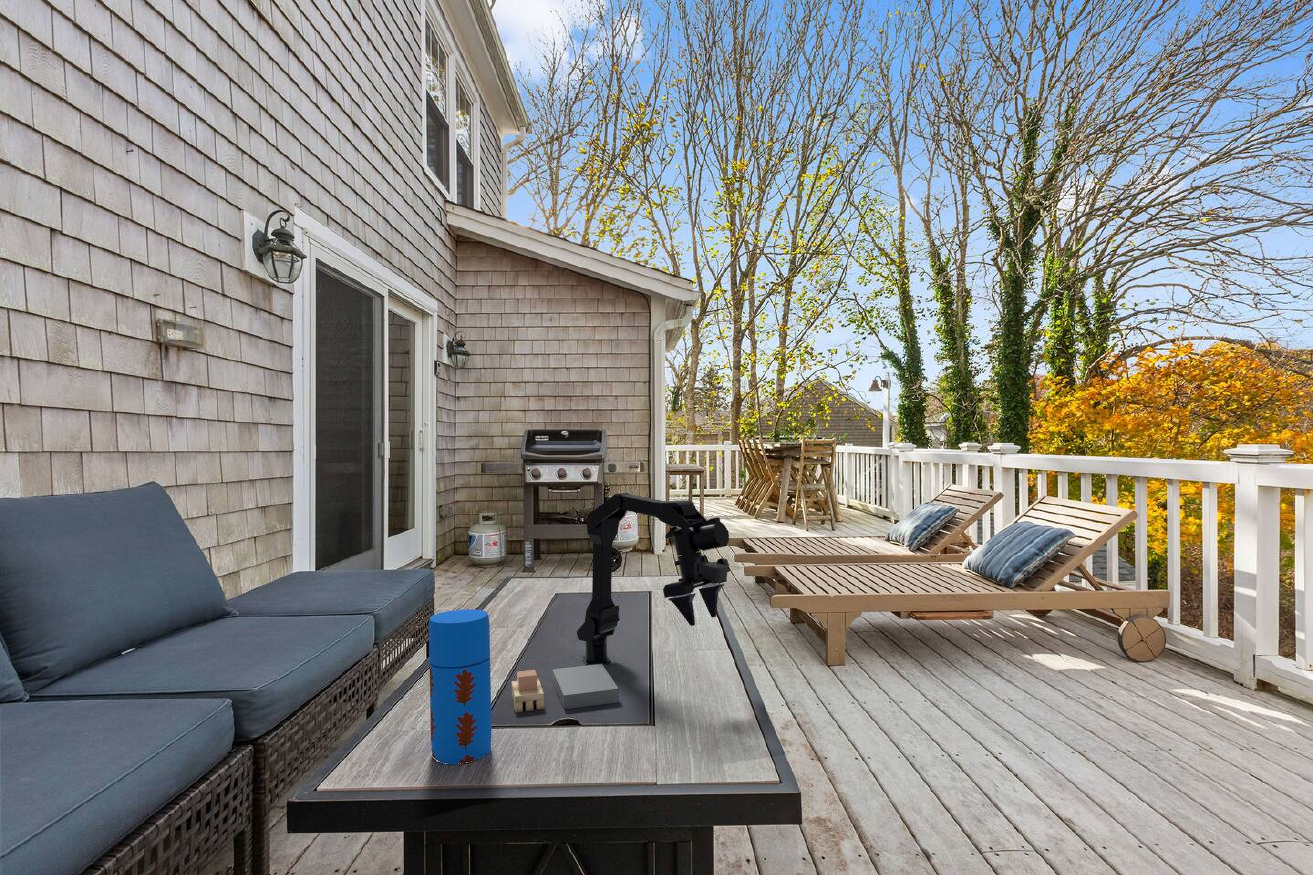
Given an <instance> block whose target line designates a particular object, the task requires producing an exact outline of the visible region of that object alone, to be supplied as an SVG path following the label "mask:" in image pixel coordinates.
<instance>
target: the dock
mask: <svg viewBox="0 0 1313 875" xmlns="http://www.w3.org/2000/svg"><path fill="white" fill-rule="evenodd" d="M552 684H553V687H554V688H555V691H556V694H557V696H558V698H559V701H560V704H561V706H562V709H563V710H570V709H578V708H585V707H592V706H593V707H594V706H601V705H608V704H615V703H616V704H617V703H619V702H620V698H619V697H620V695H619V692H620V691H619V687H618V686H617V684H616V683H615V681H614V680H613V678H612V676H611V675H610V674H609V672H608V671H607V669H606V668H605V666H604V664H596V665H581V666H580V665H579V666H571V667H563V668H561V667H560V668H556V669H552Z"/></svg>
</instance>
